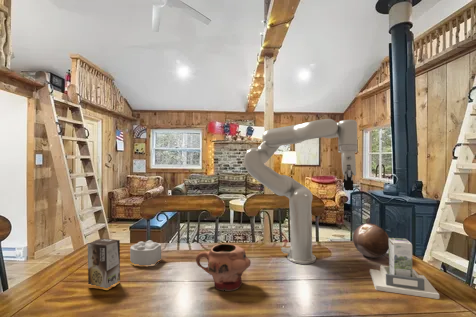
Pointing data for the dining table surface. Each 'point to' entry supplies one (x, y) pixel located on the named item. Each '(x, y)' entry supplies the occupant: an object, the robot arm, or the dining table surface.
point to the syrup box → (400, 257)
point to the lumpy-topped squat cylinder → (145, 253)
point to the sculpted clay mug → (225, 265)
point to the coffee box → (104, 262)
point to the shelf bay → (402, 283)
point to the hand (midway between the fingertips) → (348, 188)
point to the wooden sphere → (371, 240)
